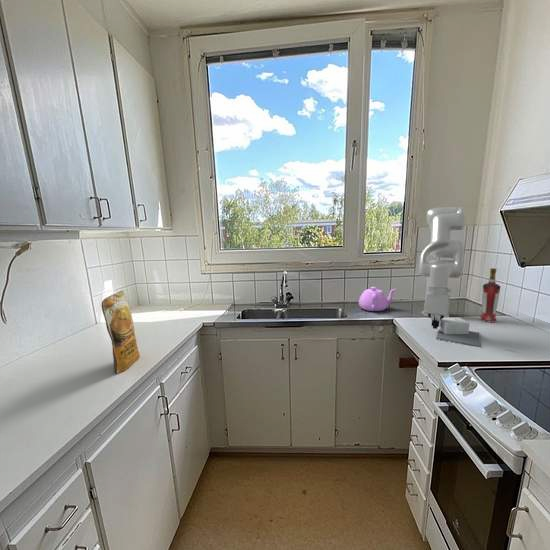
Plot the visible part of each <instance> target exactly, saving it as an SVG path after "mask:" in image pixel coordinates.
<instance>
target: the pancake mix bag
mask: <svg viewBox="0 0 550 550" xmlns="http://www.w3.org/2000/svg"><path fill="white" fill-rule="evenodd" d="M101 311H102V314H103V317H104V320H105V326H106V330H107V334H108V336H109V338H110V340H111V345H112V358H113V373H115V374H119V373H122V372H126V371H127V370H128V369H129V368H130V367H132V366H133V365H134V363H136V362H137V361H138V360H139V359H140V357H141V355H140V351H139V347H138V343H137V337H136V333H135V326H134V319H133V315H132V312H131V308H130V306H129V303H128V300H127V297H126V294H125V292H124V291H123V290H120V291H118V292H116V293H112V294H111V295H109V296H107V297H105V298H104V299H103V300H102V301H101Z"/></svg>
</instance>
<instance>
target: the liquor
mask: <svg viewBox="0 0 550 550" xmlns="http://www.w3.org/2000/svg"><path fill="white" fill-rule="evenodd" d="M497 270H498V269H497V268H495V267H492V268H489V277H488V282H486V283H484V284H483V285H482V297H481V298H482V301H481V302H482V305H481V316H480V319H481V320H482V321H483V320H485V321H484V322H486V321H491V322H490V323H493V322H495V321H497V318H496V317H497V310H498V309H497V308H498V304H499V303H498V302H499V298H500V297H499V296H500V292H501V286H500V285H499V284H497V282H496V274H497ZM492 321H493V322H492Z"/></svg>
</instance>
